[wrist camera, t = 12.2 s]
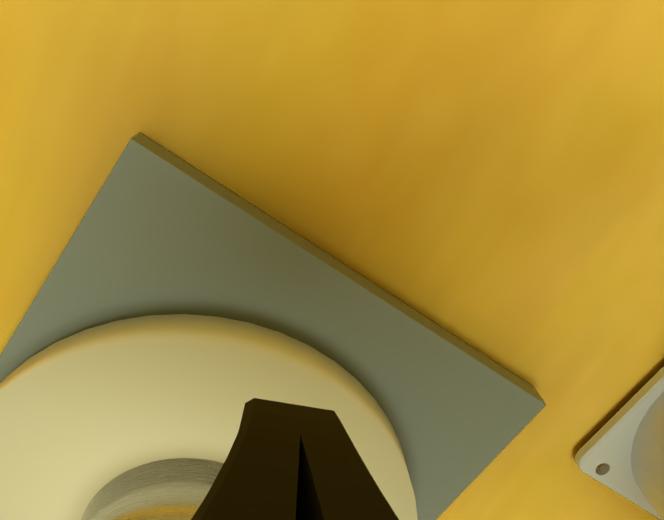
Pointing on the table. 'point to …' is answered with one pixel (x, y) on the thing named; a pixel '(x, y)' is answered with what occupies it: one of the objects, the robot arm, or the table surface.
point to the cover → (155, 491)
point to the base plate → (276, 311)
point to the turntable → (166, 407)
